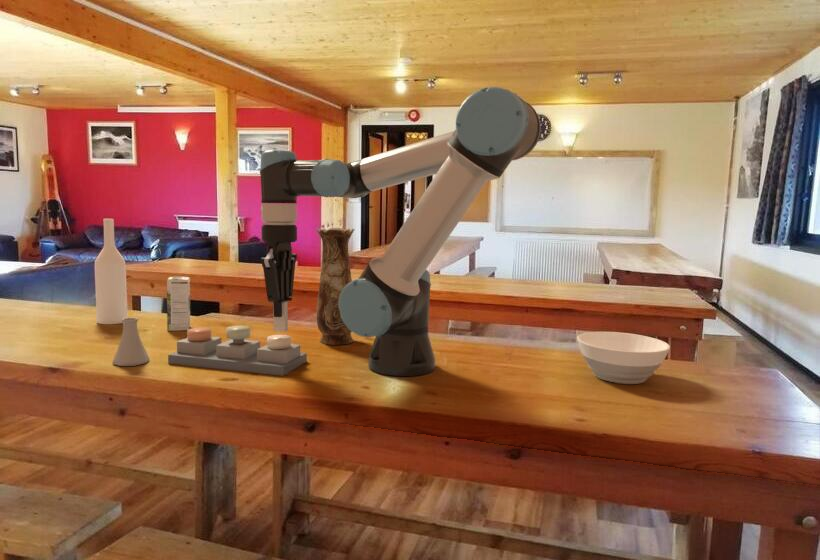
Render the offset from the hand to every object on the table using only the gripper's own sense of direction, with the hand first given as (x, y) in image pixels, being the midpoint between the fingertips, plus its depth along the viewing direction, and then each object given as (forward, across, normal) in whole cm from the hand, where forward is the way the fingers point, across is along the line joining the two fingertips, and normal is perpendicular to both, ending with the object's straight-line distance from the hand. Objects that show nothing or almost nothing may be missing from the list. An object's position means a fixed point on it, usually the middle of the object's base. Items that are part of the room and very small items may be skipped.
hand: (280, 330), depth 131 cm
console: (+8, 0, -11) cm, 13 cm away
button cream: (+6, 0, -1) cm, 6 cm away
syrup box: (+8, -25, -44) cm, 51 cm away
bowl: (+10, -18, +73) cm, 76 cm away
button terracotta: (+6, 0, -21) cm, 21 cm away
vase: (+9, -27, +2) cm, 29 cm away
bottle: (+7, -26, -67) cm, 72 cm away
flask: (+8, +8, -33) cm, 35 cm away
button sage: (+4, 0, -11) cm, 11 cm away
